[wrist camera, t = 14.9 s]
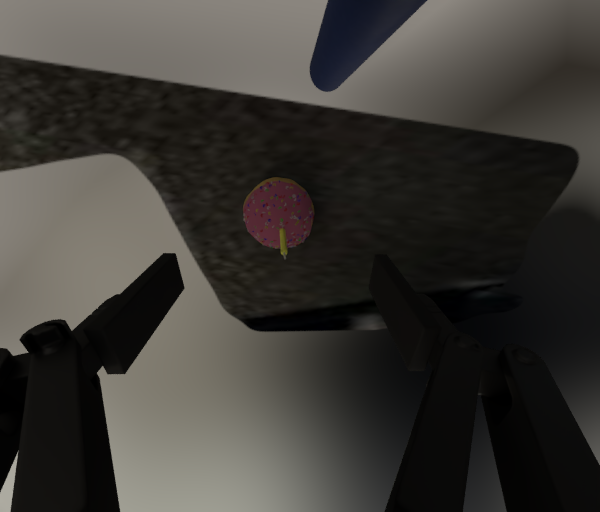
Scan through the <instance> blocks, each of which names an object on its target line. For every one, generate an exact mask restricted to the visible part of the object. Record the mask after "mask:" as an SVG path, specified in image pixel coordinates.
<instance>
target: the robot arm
mask: <svg viewBox="0 0 600 512" xmlns="http://www.w3.org/2000/svg"><path fill="white" fill-rule="evenodd" d="M183 290H184V284H183V280H182V277H181V273H180V269H179V265H178V261H177V257H176V254H175V253H163V255H161V256H160V257H159V258H158V259H157V260H156V261H155V262H154V263H153V264H152V265H151V266H150V267H148V268H147V269H146V270H145V271H144V272H143V273H142V274H141V275H140V276H139V277H138V278H137V279H136V280H135V281H134V282H133V283H131V284H130V285H129V286H128V287H127V288H126V289H125V290H124V291H123V292H122V293H121V294H117V295H114V296H113V297H111V298H109V299H107V300H106V301H105V302H104V303H102V304H101V305H100V306H99V307H98V309H96V310H95V311H94V312H93V313H92V314H91V315H89V316H88V317H87V318H86V319H85V320H84V321H83V322H81V323H80V324H79V325H78V326H77V327H76V328H75V329H74V330H73V331H71V329H70V328H69V326H68V324H67V323H66V321H65V320H61V319H60V320H51V321H47V322H44V323H42V324H39V325H37V326H35V327H33V328H31V329H30V330H28V331H27V332H26V333H24V334H23V335H22V337H21V338H20V341H21V343H22V344H23V345H24V346H25V348H26V349H27V351H28V352H29V353H25V354H21V355H16V356H13V355H12V354H11V353H10V352H9V351H8V350H7V349H4V348H0V492H1V489H2V487H3V485H4V482H5V480H6V478H7V475H8V473H9V471H10V468H11V466H12V464H13V462H14V459H15V457H16V454H17V452H18V459H17V466H16V475H15V483H14V490H13V498H12V505H11V512H120V508H119V501H118V495H117V488H116V482H115V475H114V469H113V463H112V456H111V449H110V443H109V437H108V430H107V424H106V417H105V411H104V404H103V398H102V391H101V385H100V378H99V376H98V375H97V372H98V371H99V370H100V368H101V367H102V366H104V368H105V370H106V372H107V374H125V373H126V372H127V370H128V369H129V367H130V366H131V364H132V363H133V362H134V360H135V359H136V357H137V356H138V354H139V353H140V352H141V350H142V349H143V347H144V346H145V344H146V343H147V341H148V340H149V339H150V337H151V336H152V334H153V333H154V331H155V330H156V328H157V327H158V326H159V324H160V323H161V321H162V320H163V318H164V317H165V315H166V314H167V313H168V311H169V310H170V308H171V307H172V305H173V304H174V303H175V301H176V300H177V298H178V297H179V295H180V294H181V292H182V291H183ZM369 290H370V292H371V294H372V296H373V298H374V300H375V302H376V305H377V307H378V309H379V311H380V313H381V315H382V317H383V319H384V321H385V323H386V325H387V327H388V329H389V331H390V333H391V336H392V338H393V339H394V342H395V343H396V346H397V348H398V350H399V352H400V354H401V356H402V358H403V360H404V362H405V364H406V366H407V369H408V371H424V370H425V368H426V366H427V363H429V364H430V366H431V368H432V373H431V375H430V377H429V379H428V382H427V387H426V390H425V393H424V395H423V398H422V401H421V404H420V407H419V410H418V413H417V416H416V419H415V422H414V425H413V428H412V431H411V434H410V437H409V440H408V443H407V446H406V449H405V452H404V455H403V458H402V461H401V464H400V466H399V470H398V473H397V475H396V479H395V481H394V484H393V487H392V490H391V493H390V496H389V499H388V502H387V505H386V508H385V511H384V512H463V505H464V497H465V489H466V481H467V474H468V466H469V458H470V451H471V443H472V435H473V427H474V420H475V412H476V404H477V396H478V395H481V398H482V402H483V407H484V411H485V416H486V420H487V424H488V429H489V434H490V438H491V443H492V447H493V452H494V456H495V461H496V465H497V470H498V474H499V479H500V483H501V488H502V492H503V496H504V501H505V506H506V510H507V512H600V465H599V463H598V461H597V460H596V458H595V456H594V454H593V452H592V450H591V448H590V446H589V445H588V443H587V441H586V439H585V437H584V435H583V433H582V431H581V429H580V428H579V426H578V424H577V422H576V420H575V418H574V416H573V415H572V413H571V411H570V409H569V407H568V405H567V403H566V401H565V400H564V398H563V396H562V394H561V392H560V390H559V388H558V387H557V385H556V383H555V381H554V379H553V377H552V376H551V373H550V372H549V370H548V368H547V366H546V364H545V362H544V361H543V360H542V359H541V357H539V356H538V355H537V354H536V353H534V352H533V351H531V350H529V349H527V348H525V347H523V346H520V345H515V344H506V345H505V346H504V347H503V349H502V351H499V350H494V349H490V348H486V347H482V346H481V344H480V343H479V342H478V341H477V340H476V339H474V338H473V337H471V336H469V335H467V334H464V333H461V332H458V331H457V329H456V328H455V327H454V326H453V324H452V323H451V322H450V321H449V320H448V318H447V317H446V316H445V315H444V314H443V313H442V311H441V310H440V309H439V308H438V307H437V305H436V304H435V303H434V301H433V300H432V299H430V298H429V297H427V296H426V295H425V294H416V293H415V291H414V290H413V289H412V288H411V286H410V285H409V284H408V282H407V281H406V280H405V278H404V277H403V276H402V274H401V273H400V272H399V270H398V269H397V268H396V266H395V265H394V264H393V263H392V261H391V260H390V259H389V257H388V256H387V255H375V258H374V263H373V268H372V273H371V279H370V284H369ZM18 450H19V451H18Z"/></svg>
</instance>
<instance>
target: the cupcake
mask: <svg viewBox="0 0 600 512" xmlns="http://www.w3.org/2000/svg"><path fill="white" fill-rule="evenodd" d="M243 213H244V214H243V216H244V219H245V220H244V221H245V223H246V227H247V231H249V233H250V234H251V235H252V236H253V237H254V238H255V239H256V240H258V241H259V242H260V243H261V244H262V245H265V246H268V247H271V248H276V249H277V248H280V249H281V254H282V255H284V259H285V260H286V255H287V248H288V247H291V248H292V247H293V246H296V245H298V244H300V243H301V242H302V243H303V241H304V240H306V238H307V237H308V236H309V234H310V231H311V227H312V223H313V219H314V206H313V203H312V201H311V199H310V197H309V195H308V192H307V191H306V190H305V189H304V188H303V187H301V186H300V185H299V184H297V183H296V182H295V181H293V180H291V179H286V178H279V177H273V178H270V179H267V180H265V181H263V182H261V183H260V184H259V185H257V186H256V187H255V188H254V190H253V191H252V192H251V193H250V194H249V195H248V196H247V198H246V200H245V202H244V205H243Z"/></svg>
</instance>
